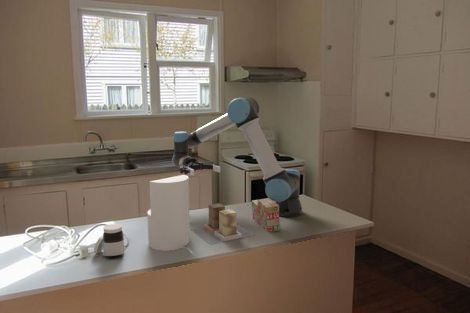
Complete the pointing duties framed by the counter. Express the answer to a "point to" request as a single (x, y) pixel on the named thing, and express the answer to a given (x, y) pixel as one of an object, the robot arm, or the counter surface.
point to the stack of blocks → (266, 214)
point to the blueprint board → (215, 237)
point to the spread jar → (111, 242)
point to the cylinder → (169, 213)
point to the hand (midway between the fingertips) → (206, 171)
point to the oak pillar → (227, 222)
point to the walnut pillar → (215, 214)
